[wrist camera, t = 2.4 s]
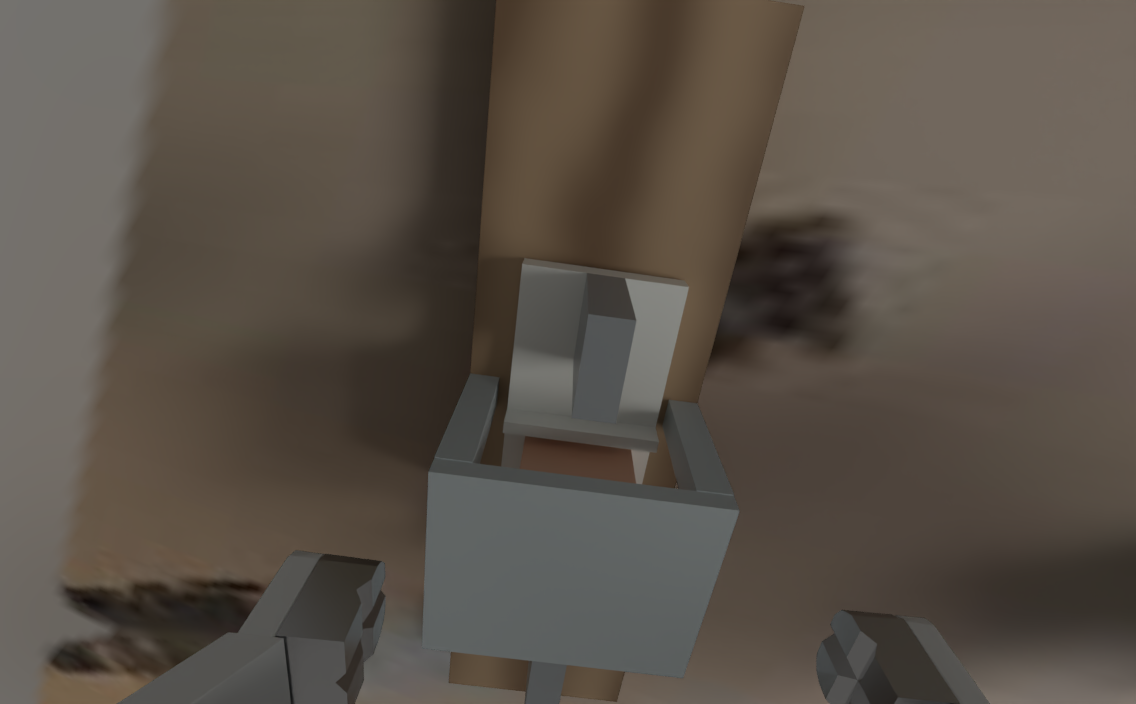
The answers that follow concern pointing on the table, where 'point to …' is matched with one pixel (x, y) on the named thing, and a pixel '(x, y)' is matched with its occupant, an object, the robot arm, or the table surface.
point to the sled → (588, 374)
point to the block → (577, 459)
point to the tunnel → (572, 551)
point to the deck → (620, 184)
